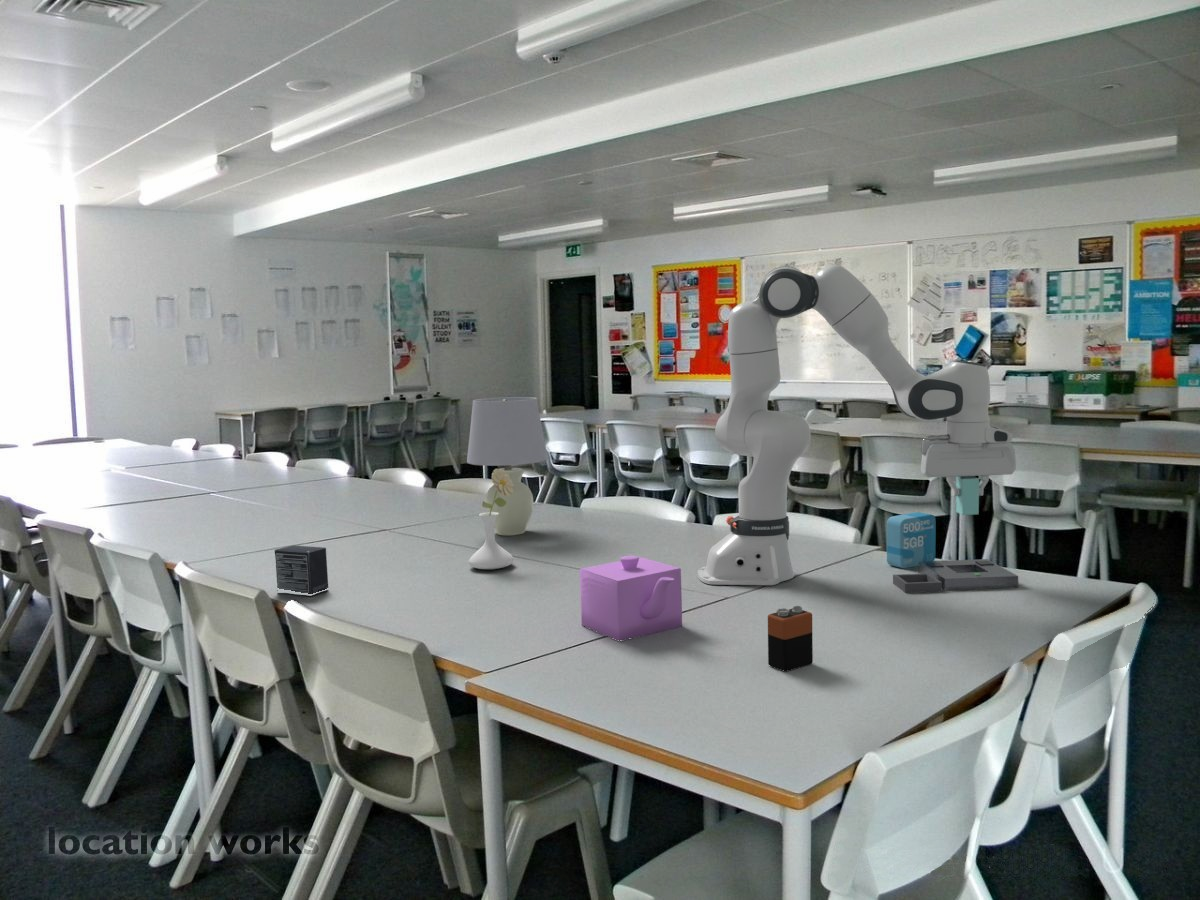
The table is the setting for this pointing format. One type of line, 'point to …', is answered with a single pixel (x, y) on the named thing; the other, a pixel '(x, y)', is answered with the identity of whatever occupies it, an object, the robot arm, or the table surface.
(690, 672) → the table surface
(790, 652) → the battery
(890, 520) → the data package
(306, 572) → the small box
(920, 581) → the tray
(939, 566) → the panel
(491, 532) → the flower in vase
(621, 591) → the teapot
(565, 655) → the table surface
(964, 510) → the aqua plug
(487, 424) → the lamp
